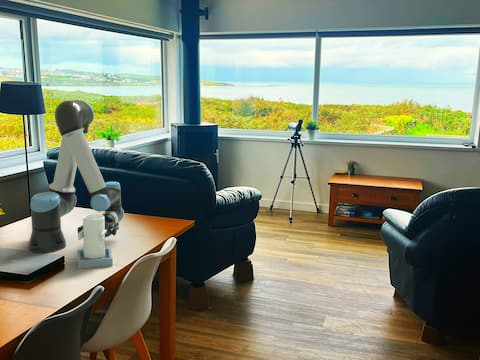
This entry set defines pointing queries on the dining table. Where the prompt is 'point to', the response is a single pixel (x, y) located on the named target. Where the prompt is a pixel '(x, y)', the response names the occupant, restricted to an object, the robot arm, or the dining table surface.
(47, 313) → the dining table surface
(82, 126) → the robot arm
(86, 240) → the cup
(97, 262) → the dock tray
